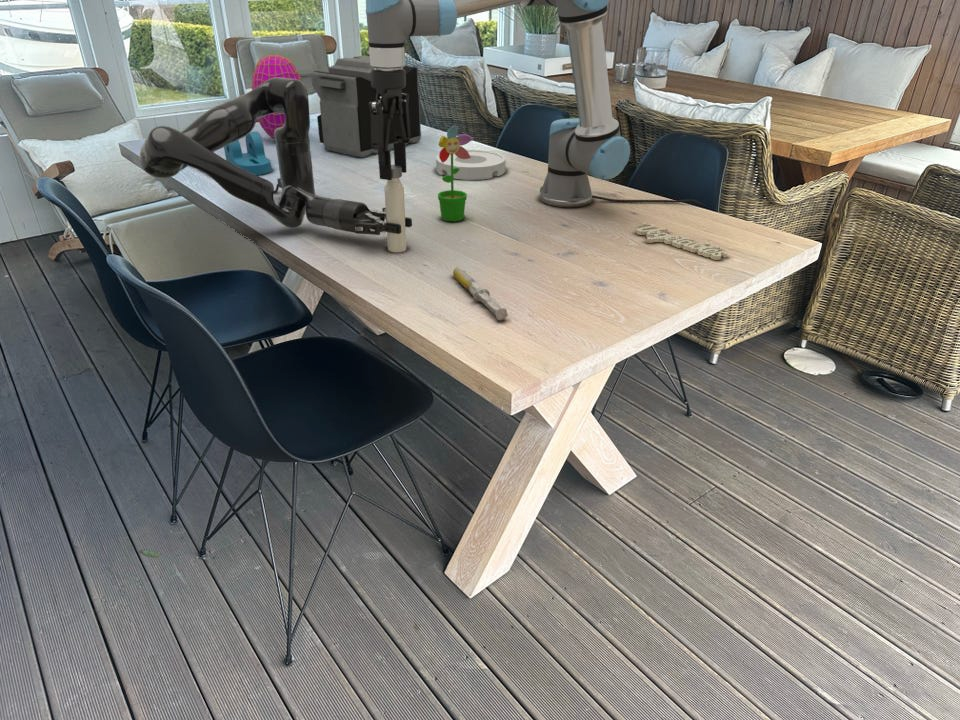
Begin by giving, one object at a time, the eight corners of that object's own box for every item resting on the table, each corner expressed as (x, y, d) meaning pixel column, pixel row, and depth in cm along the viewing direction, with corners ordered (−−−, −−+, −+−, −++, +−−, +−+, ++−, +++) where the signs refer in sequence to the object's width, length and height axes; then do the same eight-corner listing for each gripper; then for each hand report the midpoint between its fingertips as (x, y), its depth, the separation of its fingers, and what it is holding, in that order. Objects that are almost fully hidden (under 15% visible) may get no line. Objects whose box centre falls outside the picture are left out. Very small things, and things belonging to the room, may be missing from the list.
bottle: (388, 252, 166) (383, 172, 156) (387, 246, 170) (383, 166, 160) (407, 252, 167) (403, 171, 157) (406, 245, 170) (402, 166, 160)
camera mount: (227, 164, 233) (221, 132, 227) (257, 160, 238) (252, 129, 233) (244, 176, 220) (239, 143, 215) (276, 172, 225) (271, 139, 220)
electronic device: (383, 133, 276) (378, 52, 261) (425, 141, 265) (422, 56, 250) (314, 150, 251) (304, 61, 235) (358, 160, 240) (350, 67, 224)
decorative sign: (622, 230, 178) (646, 222, 184) (622, 233, 179) (645, 225, 184) (711, 260, 161) (734, 250, 167) (711, 264, 162) (733, 253, 167)
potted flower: (443, 224, 183) (442, 128, 170) (432, 216, 189) (429, 122, 176) (475, 219, 187) (476, 124, 174) (462, 211, 193) (462, 119, 180)
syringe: (449, 274, 155) (449, 263, 153) (465, 272, 156) (464, 260, 154) (490, 323, 135) (491, 310, 133) (508, 319, 136) (508, 307, 134)
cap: (405, 175, 160) (405, 166, 158) (394, 179, 157) (393, 170, 156) (392, 172, 161) (392, 163, 160) (381, 176, 159) (380, 167, 158)
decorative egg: (293, 132, 276) (283, 50, 261) (319, 140, 264) (310, 56, 249) (249, 139, 265) (236, 54, 250) (273, 148, 253) (261, 60, 238)
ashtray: (439, 160, 240) (438, 148, 238) (505, 161, 240) (505, 150, 238) (433, 179, 220) (432, 166, 218) (505, 180, 220) (505, 168, 218)
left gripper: (363, 221, 178) (421, 231, 172) (330, 239, 166) (391, 250, 160) (360, 193, 174) (420, 202, 168) (327, 209, 163) (389, 219, 156)
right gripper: (394, 61, 156) (399, 163, 168) (348, 72, 141) (357, 184, 153) (423, 63, 154) (426, 167, 165) (379, 75, 138) (386, 188, 150)
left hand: (405, 226), depth 164 cm, fingers closed on bottle, 4 cm apart
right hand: (393, 175), depth 159 cm, fingers open, 6 cm apart
